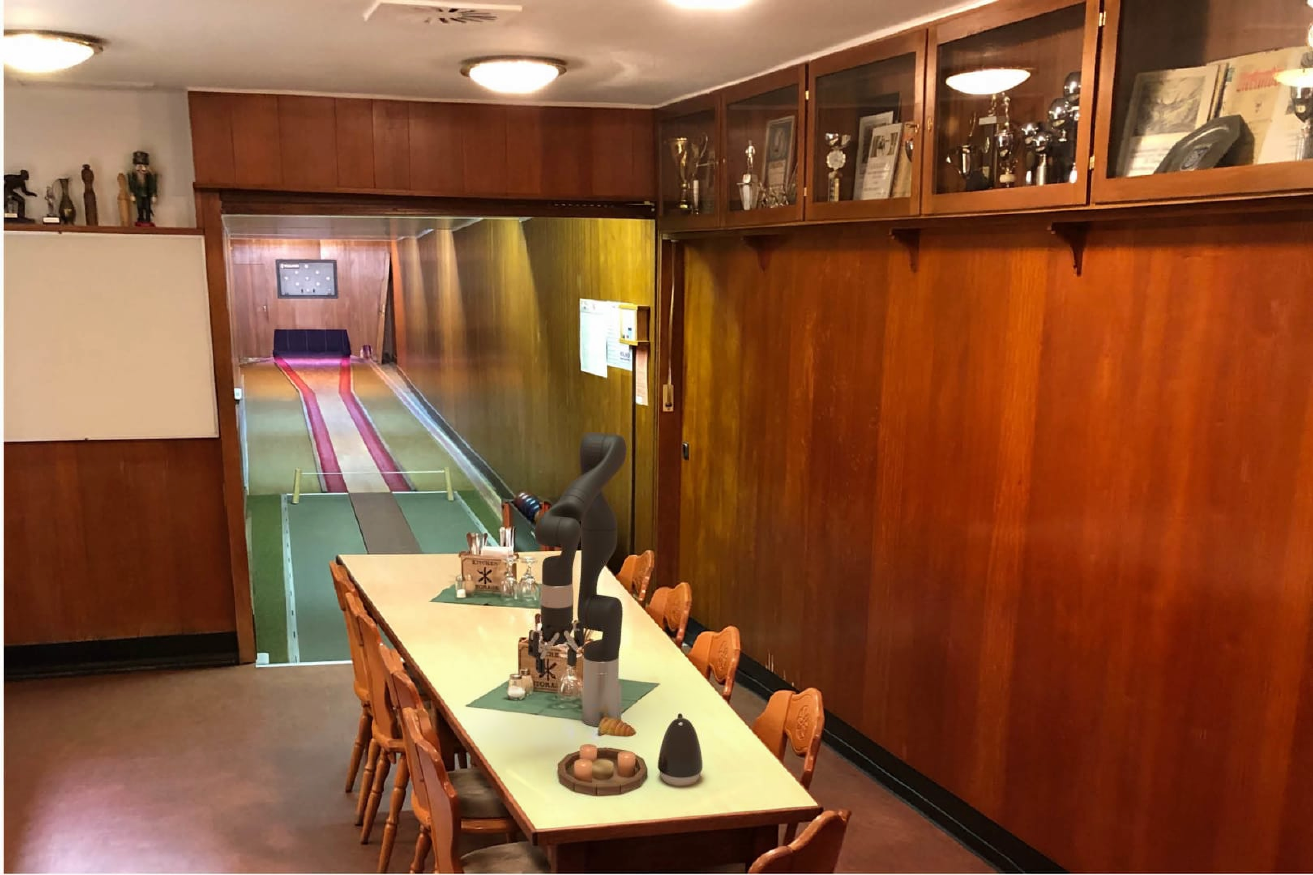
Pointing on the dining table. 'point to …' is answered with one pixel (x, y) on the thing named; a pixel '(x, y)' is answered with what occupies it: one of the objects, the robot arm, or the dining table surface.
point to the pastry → (615, 728)
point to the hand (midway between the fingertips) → (556, 669)
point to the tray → (602, 784)
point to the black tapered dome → (680, 754)
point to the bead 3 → (626, 764)
